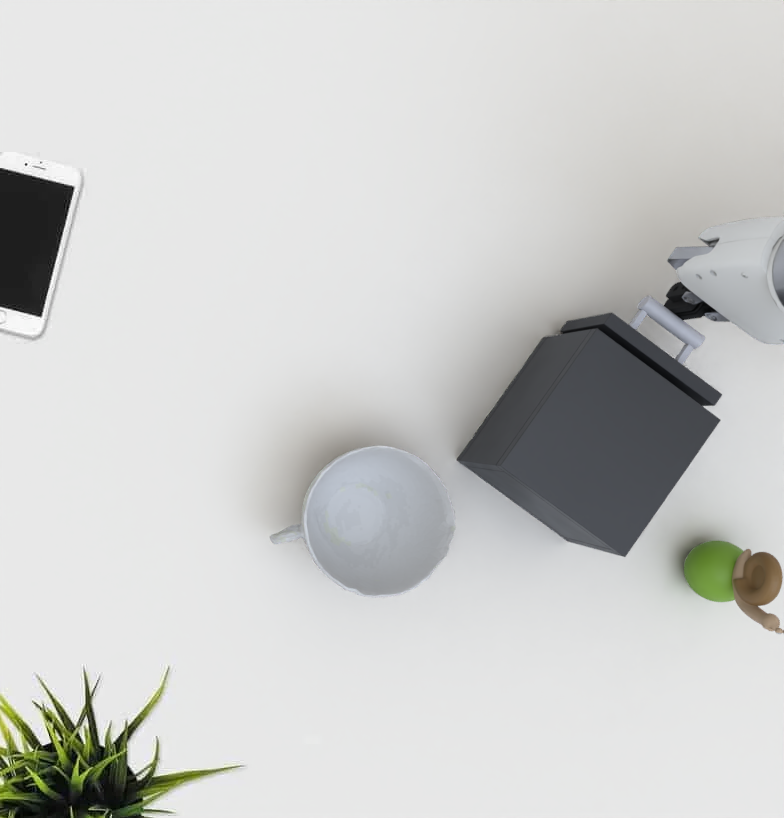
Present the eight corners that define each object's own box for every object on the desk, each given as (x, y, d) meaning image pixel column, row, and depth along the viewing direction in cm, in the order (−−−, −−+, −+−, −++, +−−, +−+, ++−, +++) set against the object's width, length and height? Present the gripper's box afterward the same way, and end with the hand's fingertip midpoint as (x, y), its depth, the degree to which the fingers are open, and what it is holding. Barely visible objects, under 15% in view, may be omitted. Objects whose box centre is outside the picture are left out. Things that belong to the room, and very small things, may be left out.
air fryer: (543, 337, 91) (597, 327, 81) (654, 419, 91) (721, 419, 82) (456, 460, 91) (500, 465, 81) (568, 542, 91) (625, 557, 81)
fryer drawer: (593, 283, 90) (641, 270, 82) (694, 358, 91) (751, 353, 83) (486, 434, 90) (524, 436, 82) (589, 509, 90) (636, 518, 82)
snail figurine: (665, 602, 91) (752, 631, 79) (675, 533, 91) (762, 551, 80) (722, 610, 92) (817, 640, 80) (732, 541, 92) (828, 560, 80)
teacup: (410, 431, 90) (441, 433, 82) (435, 567, 90) (468, 582, 82) (248, 462, 90) (262, 466, 82) (273, 598, 90) (290, 617, 82)
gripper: (948, 293, 69) (768, 318, 87) (779, 162, 68) (634, 215, 87) (887, 380, 69) (719, 387, 87) (717, 250, 68) (584, 285, 86)
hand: (677, 301), depth 87 cm, fingers closed
